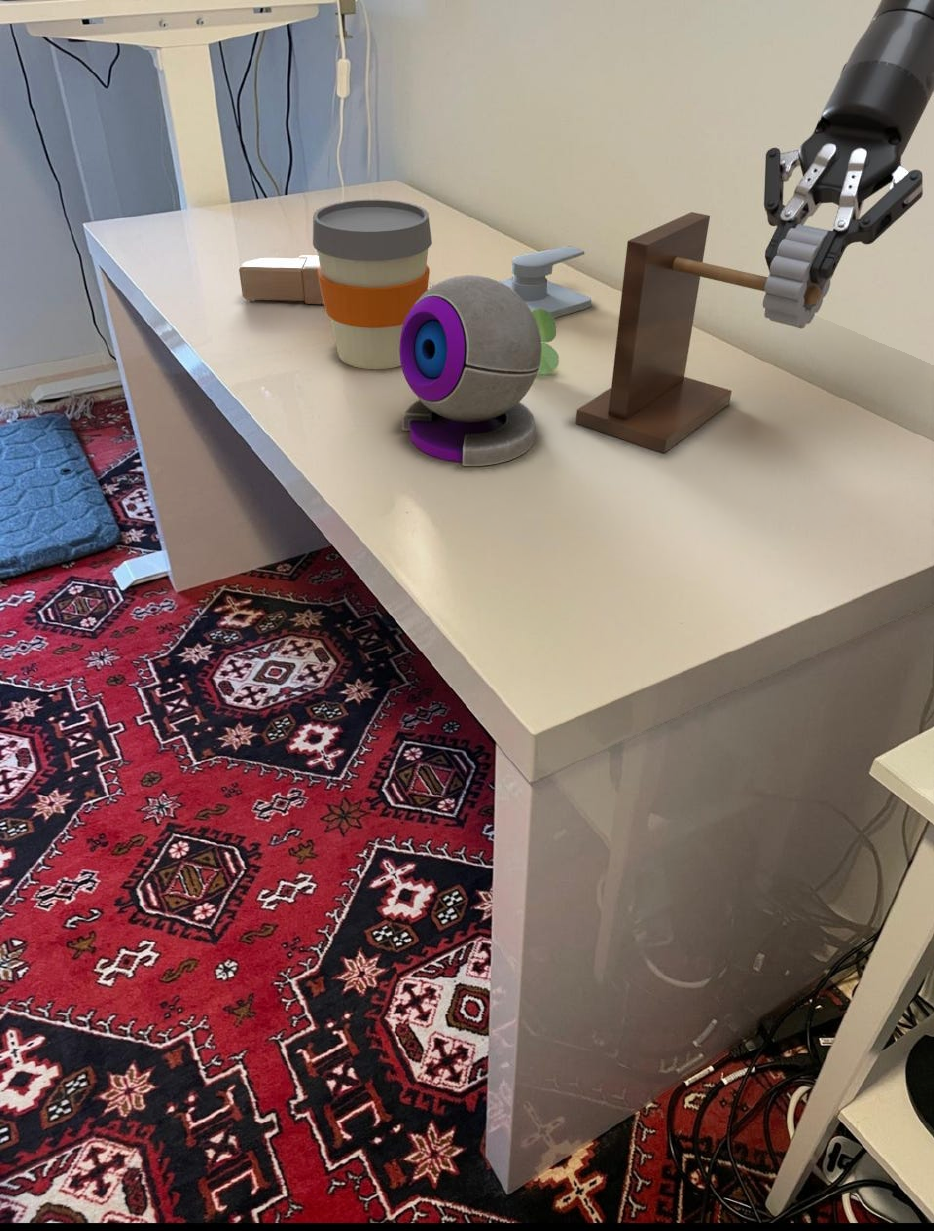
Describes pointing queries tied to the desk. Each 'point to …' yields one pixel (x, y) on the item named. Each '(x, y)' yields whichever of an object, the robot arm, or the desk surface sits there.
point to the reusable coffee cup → (371, 274)
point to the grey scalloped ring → (794, 278)
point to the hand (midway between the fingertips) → (793, 273)
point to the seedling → (546, 334)
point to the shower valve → (545, 282)
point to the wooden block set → (282, 279)
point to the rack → (663, 339)
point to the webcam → (470, 371)
